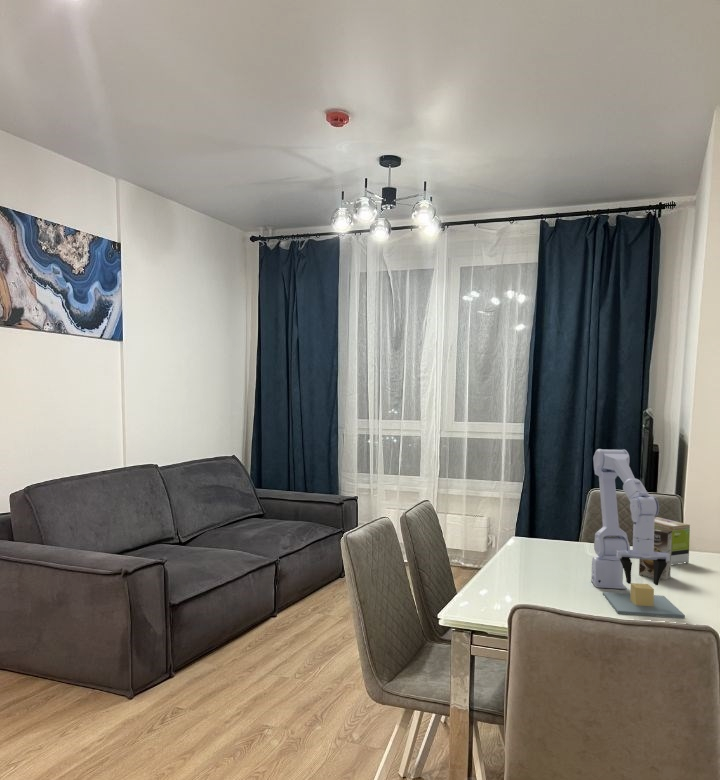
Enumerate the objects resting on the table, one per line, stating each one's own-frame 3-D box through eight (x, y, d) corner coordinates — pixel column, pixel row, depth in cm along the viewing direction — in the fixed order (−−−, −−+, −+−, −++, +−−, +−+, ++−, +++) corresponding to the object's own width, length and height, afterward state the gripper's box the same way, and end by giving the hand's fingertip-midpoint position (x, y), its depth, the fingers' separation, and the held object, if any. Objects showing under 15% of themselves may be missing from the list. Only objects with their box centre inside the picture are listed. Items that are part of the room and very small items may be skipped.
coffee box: (638, 575, 229) (639, 528, 229) (643, 571, 234) (644, 525, 234) (666, 580, 224) (667, 532, 224) (671, 576, 229) (672, 529, 229)
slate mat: (617, 613, 188) (617, 610, 188) (602, 594, 206) (602, 591, 206) (684, 618, 186) (684, 615, 186) (663, 598, 204) (663, 595, 204)
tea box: (638, 556, 258) (639, 517, 258) (656, 553, 262) (657, 516, 262) (670, 565, 244) (671, 525, 244) (689, 563, 248) (690, 523, 248)
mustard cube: (635, 605, 194) (635, 587, 194) (630, 599, 199) (630, 583, 199) (653, 606, 193) (653, 589, 193) (647, 600, 198) (648, 584, 198)
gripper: (621, 539, 193) (620, 586, 193) (673, 542, 191) (672, 589, 191) (615, 533, 200) (613, 579, 200) (665, 536, 198) (664, 582, 198)
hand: (642, 583), depth 196 cm, fingers open, 7 cm apart
